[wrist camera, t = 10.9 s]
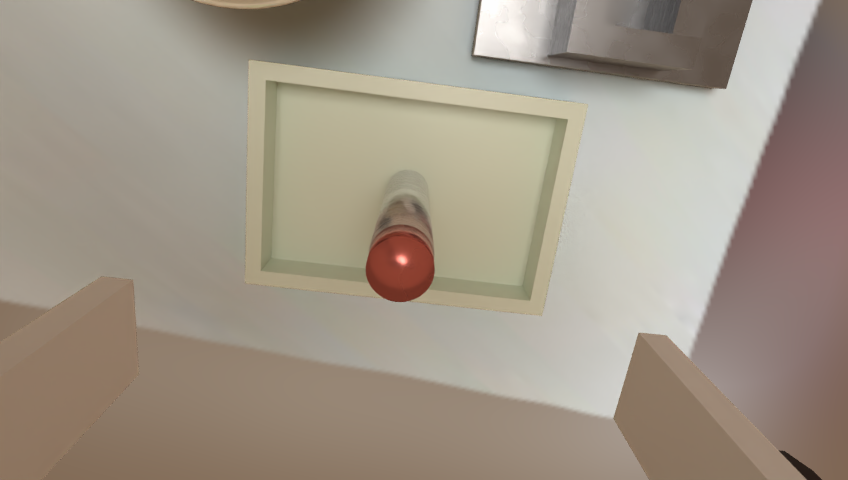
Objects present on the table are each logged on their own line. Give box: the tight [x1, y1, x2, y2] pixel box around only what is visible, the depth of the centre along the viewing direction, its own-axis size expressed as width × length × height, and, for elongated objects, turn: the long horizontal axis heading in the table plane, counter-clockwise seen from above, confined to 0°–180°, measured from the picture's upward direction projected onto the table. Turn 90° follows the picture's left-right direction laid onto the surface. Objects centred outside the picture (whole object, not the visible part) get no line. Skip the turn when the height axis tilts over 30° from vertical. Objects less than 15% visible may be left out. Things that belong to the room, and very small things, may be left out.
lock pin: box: [366, 170, 435, 302], centre depth 26 cm, size 3×3×15 cm
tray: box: [245, 60, 588, 316], centre depth 33 cm, size 20×14×3 cm
